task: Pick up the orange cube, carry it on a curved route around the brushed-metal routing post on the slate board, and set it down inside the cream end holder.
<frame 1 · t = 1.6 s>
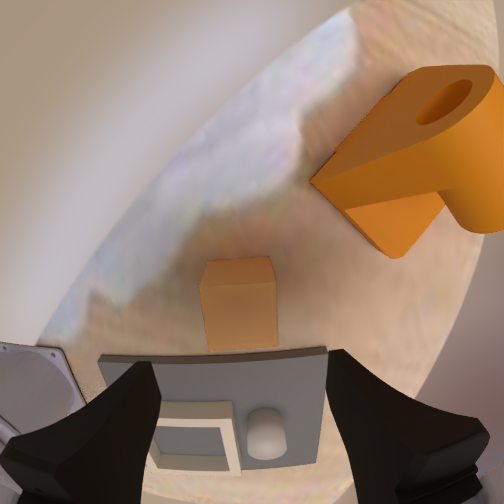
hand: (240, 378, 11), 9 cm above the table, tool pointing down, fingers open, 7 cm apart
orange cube: (240, 286, 21), on the table
bracket: (393, 161, 19), on the table
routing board: (219, 420, 24), on the table
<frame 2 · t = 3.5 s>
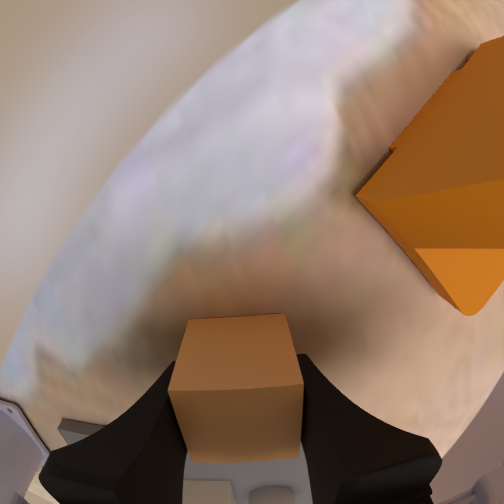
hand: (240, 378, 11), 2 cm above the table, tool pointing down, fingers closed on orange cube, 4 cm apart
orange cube: (240, 355, 13), on the table, touching gripper
bracket: (465, 167, 11), on the table
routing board: (214, 491, 17), on the table
when the fingers open (4 cm above the table, at t = 8.2 s): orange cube stays where it is, resting on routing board.
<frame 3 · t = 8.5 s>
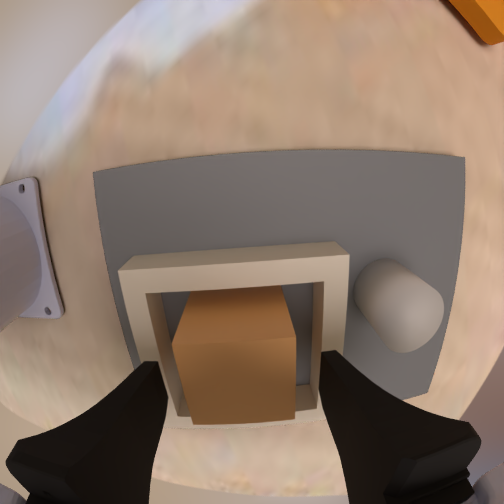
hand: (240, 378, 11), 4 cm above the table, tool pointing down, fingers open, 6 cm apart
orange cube: (239, 325, 14), point 1 cm above the table, touching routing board
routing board: (298, 305, 15), on the table
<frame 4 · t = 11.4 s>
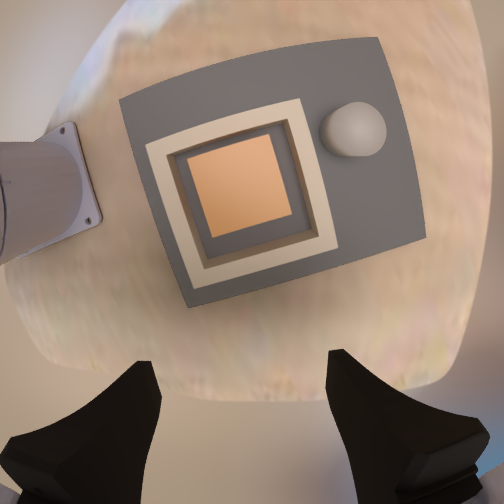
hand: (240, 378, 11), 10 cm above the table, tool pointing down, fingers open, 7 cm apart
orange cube: (240, 180, 19), point 1 cm above the table, touching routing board
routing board: (284, 163, 19), on the table
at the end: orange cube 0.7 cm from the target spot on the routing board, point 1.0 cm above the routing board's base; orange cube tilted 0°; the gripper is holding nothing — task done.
